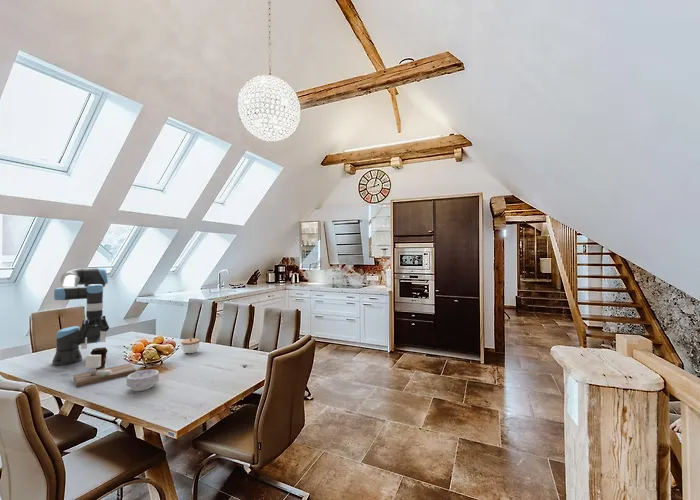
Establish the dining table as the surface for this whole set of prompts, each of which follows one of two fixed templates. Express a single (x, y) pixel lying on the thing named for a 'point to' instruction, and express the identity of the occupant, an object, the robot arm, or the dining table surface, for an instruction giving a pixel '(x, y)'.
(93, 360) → the white piece
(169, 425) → the dining table surface
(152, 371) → the white floral bowl
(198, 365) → the dining table surface
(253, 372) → the dining table surface
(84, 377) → the board
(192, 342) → the lidded bowl
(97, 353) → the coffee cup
